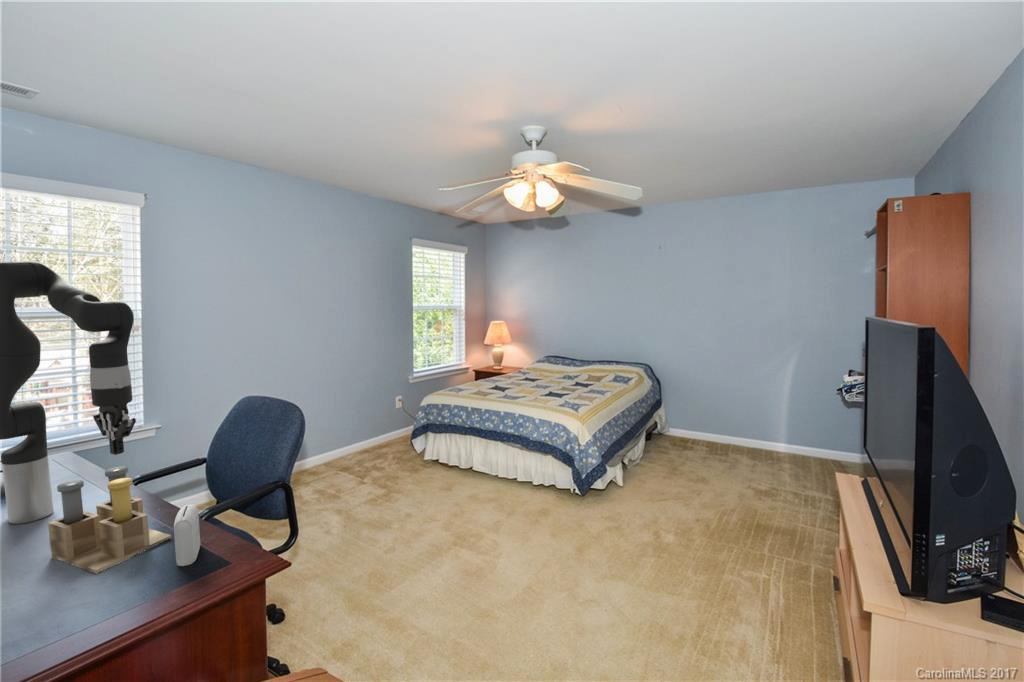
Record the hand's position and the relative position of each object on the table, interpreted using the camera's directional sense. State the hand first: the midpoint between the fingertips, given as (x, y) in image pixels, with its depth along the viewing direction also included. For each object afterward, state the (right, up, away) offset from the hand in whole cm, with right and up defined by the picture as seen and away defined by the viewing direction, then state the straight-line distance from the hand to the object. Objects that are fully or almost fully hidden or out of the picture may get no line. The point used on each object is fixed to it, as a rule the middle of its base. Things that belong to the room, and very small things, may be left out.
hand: (117, 453), depth 117 cm
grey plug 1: (-12, -18, +1) cm, 21 cm away
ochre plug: (0, -17, +2) cm, 17 cm away
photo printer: (+16, -26, +2) cm, 31 cm away
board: (-5, -25, +5) cm, 26 cm away
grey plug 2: (-8, -16, +11) cm, 21 cm away
